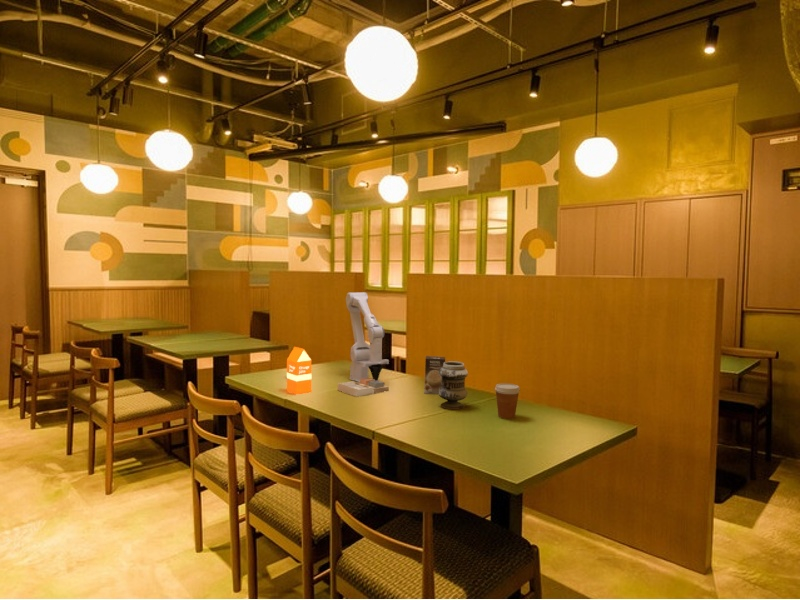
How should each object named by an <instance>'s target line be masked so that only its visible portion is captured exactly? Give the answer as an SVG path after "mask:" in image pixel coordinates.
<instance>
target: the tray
mask: <svg viewBox="0 0 800 600" xmlns="http://www.w3.org/2000/svg"><path fill="white" fill-rule="evenodd" d="M355 383H356V381H354V380H352V381H347V382H346V381H345V382H337V391H338V390H339V391H338V392H341V391H342V392H341V393H344V394H346V393H347V395H349V394H350V395H349V396H352V395H353V397H355V398H359V396H360V397H364V395H365V396H369V395H375V393H374V390H373V387H370V388H366V387H363V386H360V385H357V384H355Z"/></svg>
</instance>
